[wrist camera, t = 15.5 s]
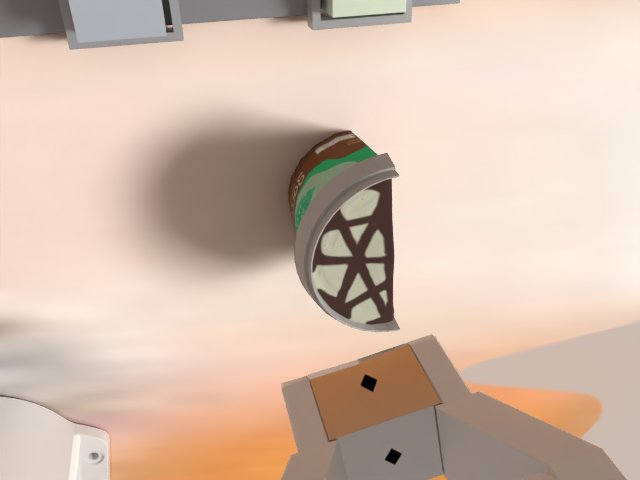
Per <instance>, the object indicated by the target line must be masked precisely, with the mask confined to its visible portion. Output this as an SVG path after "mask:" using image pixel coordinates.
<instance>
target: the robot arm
mask: <svg viewBox="0 0 640 480" xmlns="http://www.w3.org/2000/svg"><path fill="white" fill-rule="evenodd" d="M308 378H309V379H308ZM309 381H310V382H309ZM281 384H282V392H283V396H284V400H285V404H286V408H287V411H288V415H289V419H290V423H291V427H292V431H293V434H294V438H295V442H296V446H297V450H298V453H296V454H293V455H291V456H290V458H289V461H288V463H287V466H286V468H285V471H284V473H283V476H282V478H281V480H428V479H431V478H434V477H437V476H440V475H443V474H444V475H445V477H446V478H447V479H449V480H626V478H625V477H624V476H623V475H622V473H621V472H620V471H619V470H618V468H617V467H616V466H615V465H614V463H613V462H612V461H611V460H610V458H609V457H608V456H607V455H606V453H605V452H604V451H603V450H602V449H601V448H599V447H597V446H595V445H593V444H591V443H589V442H586V441H584V440H582V439H580V438H578V437H576V436H574V435H572V434H569V433H567V432H565V431H563V430H561V429H559V428H557V427H555V426H552V425H550V424H548V423H546V422H544V421H542V420H540V419H538V418H535V417H533V416H531V415H529V414H527V413H525V412H523V411H520V410H518V409H516V408H514V407H512V406H510V405H508V404H506V403H503V402H501V401H499V400H497V399H495V398H493V397H491V396H489V395H486V394H484V393H482V392H480V391H479V392H476V393H473V394H472V393H471V391H470V390H469V388H468V387H467V385H466V383H465V382H464V380H463V379H462V377H461V376H460V374H459V372H458V371H457V369H456V368H455V366H454V365H453V363H452V362H451V360H450V358H449V357H448V355H447V354H446V352H445V351H444V349H443V348H442V346H441V344H440V343H439V341H438V340H437V338H436V337H435V336H433V335H432V334H431V335H428V336H425V337H422V338H419V339H416V340H414V341H411V342H408V343H407V344H406V343H405V344H402V345H399V346H396V347H393V348H390V349H387V350H384V351H381V352H378V353H375V354H372V355H369V356H367V357H364V358H361V359H358V360H356V361H352V362H349V363H346V364H342V365H339V366H336V367H332V368H329V369H326V370H322V371H319V372H316V373H312V374H309V375H308V377H307V376H305V377H301V378H298V379H295V380H291V381H288V382H284V383H281ZM0 480H110V437H109V435H108V434H107V433H106V432H105V431H103V430H101V429H98V428H94V427H90V426H85V425H80V424H75V423H73V422H70V421H68V420H66V419H65V418H63V417H61V416H60V415H58V414H56V413H55V412H53V411H51V410H49V409H47V408H45V407H43V406H40V405H37V404H35V403H31V402H28V401H24V400H20V399H15V398H8V397H0Z"/></svg>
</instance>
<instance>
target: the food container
mask: <svg viewBox="0 0 640 480" xmlns="http://www.w3.org/2000/svg"><path fill="white" fill-rule="evenodd" d="M396 177H399V175H398V173H397V172H396V171H395V166H394V164H393V162H392V161H391V159H390V157H389V155H388V154H387V153H385V154H381V155H377V154H376V153H375V152H374V151H373V150H372V149H370V148H369V147H368V146H367V145H366V144H365V143H364V142H363V141H361V140H360V139H359V138H358V137H357V136H356V135H355V134H354V133H352V132H351V131H347V132H343V133H339V134H335V135H333V136H331V137H329V138H327V139H326V140H324V141H322V142H320V143H318V144H316V145H315V146H314V147H313V148H312V149H311V150H310V151H309V152H308V153H307V154H306V155H305V156H304V157H303V158H302V159H301V160H300V162H299V164H298V166H297V168H296V169H295V171H294V173H293V175H292V177H291V181H290V186H289V191H288V196H289V205H290V210H291V214H292V217H293V221H294V225H295V228H296V232H297V234H296V240H295V247H294V254H295V265H296V269H297V274H298V276H299V278H300V281H301V283H302V285H303V286H304V288H305V289H306V291H307V292H308V294H309V295H310V296H311V297H312V299H313V300H314V301H315V302H316V303H317V304H318V305H319V306H320V307H321V308H322V309H323V310H324V311H325V312H326V313H327V314H328V315H330V316H331V317H333V318H334V319H336V320H338V321H340V322H341V323H343V324H345V325H347V326H350V327H352V328H356V329H359V330H363V331H371V332H389V331H396V330H400V328H399V326H398V324H397V322H396V320H395V318H394V308H393V271H394V243H393V224H392V178H396Z"/></svg>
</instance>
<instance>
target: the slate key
mask: <svg viewBox="0 0 640 480" xmlns="http://www.w3.org/2000/svg"><path fill="white" fill-rule="evenodd" d="M68 1H69V5H70V10H71V14H72V19H73V23H74V27H75V32H76V36H77V41H78V43H82V42H95V41H108V40H121V39H133V38H146V37H159V36H167V34H166V25H165V19H164V12H163V6H162V0H68Z"/></svg>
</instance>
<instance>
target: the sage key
mask: <svg viewBox="0 0 640 480" xmlns="http://www.w3.org/2000/svg"><path fill="white" fill-rule="evenodd" d="M406 1H407V0H322V10H323V11H325V12H326V13H327V14H329V15H330V16H331V17H333V18H334V17H347V16H360V15H373V14H386V13H399V12H406Z"/></svg>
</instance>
